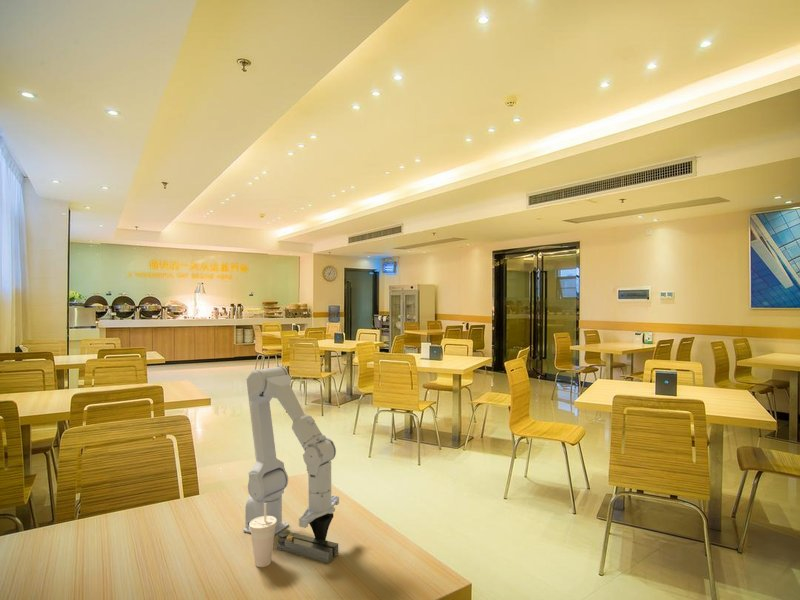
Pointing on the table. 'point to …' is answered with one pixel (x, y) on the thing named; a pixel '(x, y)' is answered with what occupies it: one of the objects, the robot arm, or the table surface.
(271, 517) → the smoothie
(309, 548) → the tongs base
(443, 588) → the table surface
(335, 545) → the bar
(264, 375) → the robot arm
